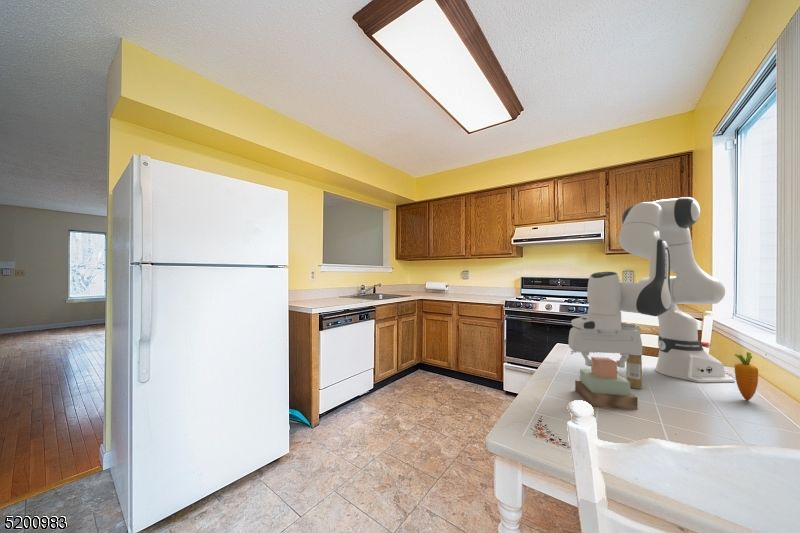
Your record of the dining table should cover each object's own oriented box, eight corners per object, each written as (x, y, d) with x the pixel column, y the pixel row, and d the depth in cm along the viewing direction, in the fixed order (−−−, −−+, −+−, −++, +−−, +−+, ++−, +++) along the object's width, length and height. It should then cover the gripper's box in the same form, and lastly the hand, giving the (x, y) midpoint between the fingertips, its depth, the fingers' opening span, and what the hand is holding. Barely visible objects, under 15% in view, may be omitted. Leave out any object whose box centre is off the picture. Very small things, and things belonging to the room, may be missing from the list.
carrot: (742, 402, 90) (741, 353, 91) (730, 396, 95) (729, 349, 95) (764, 404, 89) (762, 355, 89) (751, 398, 93) (750, 351, 94)
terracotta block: (608, 373, 95) (607, 357, 95) (617, 378, 90) (616, 362, 90) (591, 372, 96) (591, 356, 96) (599, 377, 91) (599, 361, 91)
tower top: (613, 383, 96) (613, 371, 97) (630, 395, 87) (630, 382, 87) (580, 380, 99) (580, 368, 99) (592, 392, 89) (592, 379, 89)
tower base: (613, 394, 97) (613, 382, 97) (637, 411, 85) (637, 397, 86) (575, 392, 99) (575, 380, 99) (593, 408, 87) (593, 395, 87)
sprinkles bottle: (644, 387, 102) (644, 348, 103) (639, 390, 100) (639, 350, 100) (629, 383, 106) (628, 346, 106) (623, 385, 104) (623, 347, 104)
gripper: (633, 321, 95) (634, 364, 94) (566, 320, 98) (566, 361, 97) (647, 325, 88) (648, 371, 88) (574, 323, 91) (575, 367, 91)
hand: (604, 366), depth 93 cm, fingers open, 8 cm apart
